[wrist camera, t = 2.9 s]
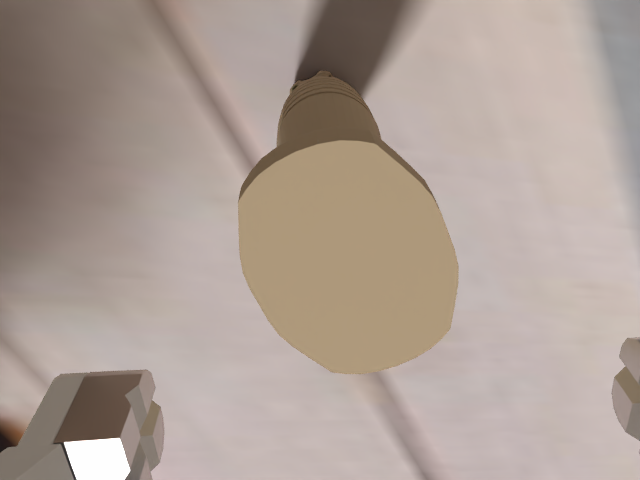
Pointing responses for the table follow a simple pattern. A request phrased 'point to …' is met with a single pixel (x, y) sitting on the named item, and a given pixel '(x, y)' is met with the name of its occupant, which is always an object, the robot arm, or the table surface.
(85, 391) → the robot arm
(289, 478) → the table surface
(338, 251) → the handle
